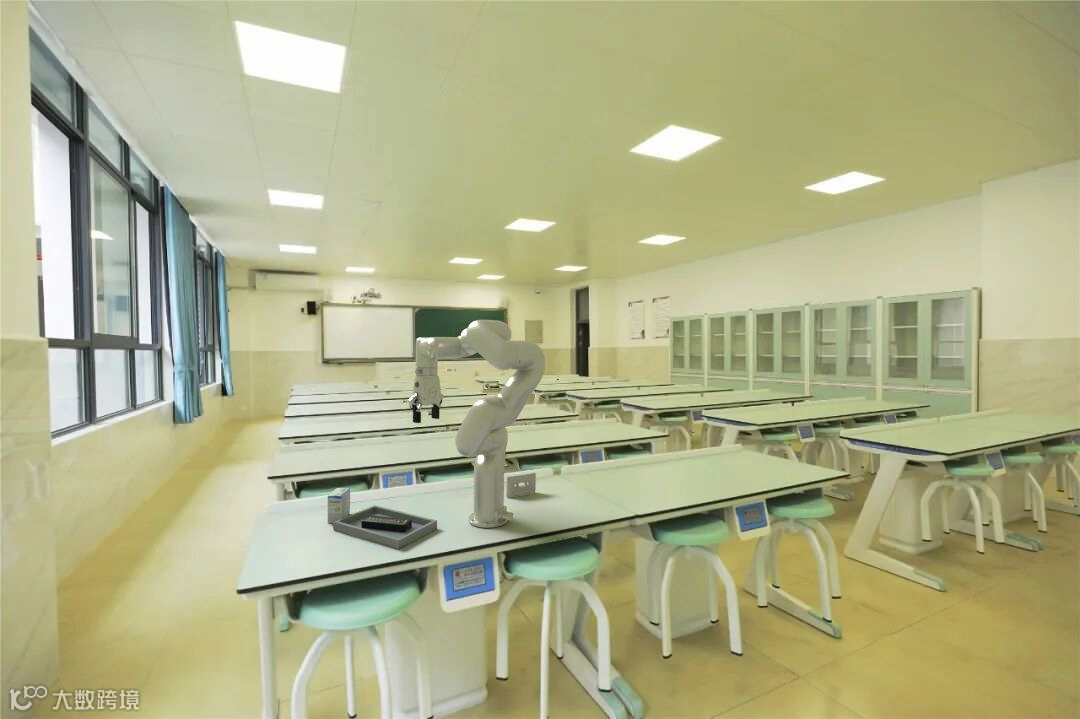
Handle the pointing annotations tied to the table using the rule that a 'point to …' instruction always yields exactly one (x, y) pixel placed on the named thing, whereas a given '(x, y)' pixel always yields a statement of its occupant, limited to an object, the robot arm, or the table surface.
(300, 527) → the table surface
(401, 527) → the multiport hub
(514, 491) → the cassette
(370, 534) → the tray
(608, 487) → the table surface
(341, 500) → the medicine box
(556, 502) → the table surface
